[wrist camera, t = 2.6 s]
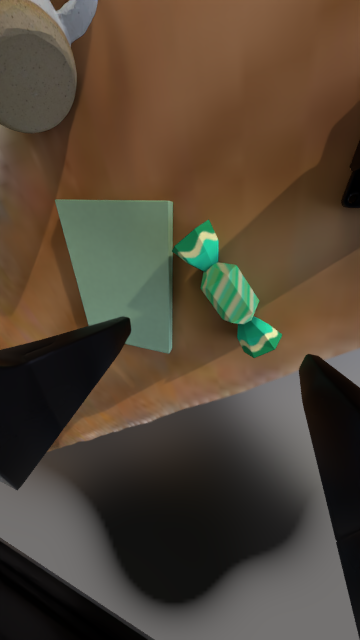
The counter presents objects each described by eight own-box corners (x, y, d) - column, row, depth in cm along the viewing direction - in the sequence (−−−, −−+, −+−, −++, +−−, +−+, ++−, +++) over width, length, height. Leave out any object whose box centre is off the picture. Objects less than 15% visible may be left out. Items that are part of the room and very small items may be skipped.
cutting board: (173, 201, 15) (168, 200, 14) (172, 348, 24) (169, 354, 23) (64, 200, 18) (54, 199, 17) (97, 331, 26) (91, 336, 25)
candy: (169, 253, 17) (176, 242, 13) (198, 231, 17) (214, 212, 13) (238, 348, 19) (261, 362, 15) (262, 328, 20) (292, 337, 16)
